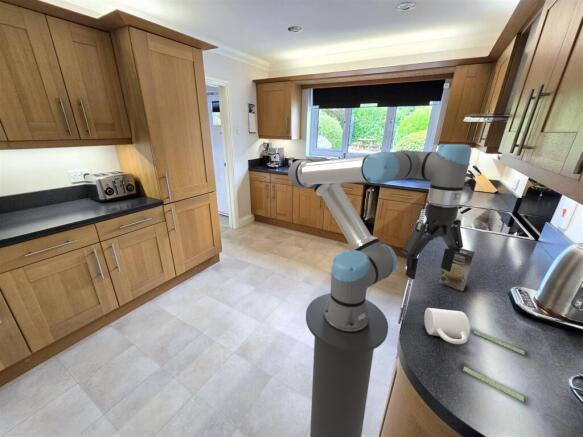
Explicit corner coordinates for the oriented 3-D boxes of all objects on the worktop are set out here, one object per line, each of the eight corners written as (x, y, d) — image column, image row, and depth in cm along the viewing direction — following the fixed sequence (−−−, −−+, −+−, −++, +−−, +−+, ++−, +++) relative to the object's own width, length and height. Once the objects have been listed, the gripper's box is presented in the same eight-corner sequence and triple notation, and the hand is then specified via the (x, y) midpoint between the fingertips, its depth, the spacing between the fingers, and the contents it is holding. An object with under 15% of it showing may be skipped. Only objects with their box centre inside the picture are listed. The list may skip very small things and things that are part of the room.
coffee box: (438, 283, 105) (445, 249, 100) (441, 277, 109) (449, 244, 104) (463, 291, 99) (472, 256, 94) (466, 285, 103) (475, 251, 98)
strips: (463, 370, 65) (463, 369, 65) (474, 330, 79) (474, 330, 78) (523, 402, 57) (523, 401, 57) (523, 351, 71) (524, 351, 71)
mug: (422, 322, 82) (426, 302, 80) (454, 326, 80) (459, 306, 78) (436, 351, 71) (441, 329, 68) (473, 356, 69) (480, 334, 67)
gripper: (416, 211, 58) (403, 287, 65) (489, 203, 66) (471, 272, 72) (395, 204, 65) (385, 273, 71) (463, 197, 72) (448, 261, 79)
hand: (428, 273), depth 72 cm, fingers open, 13 cm apart
